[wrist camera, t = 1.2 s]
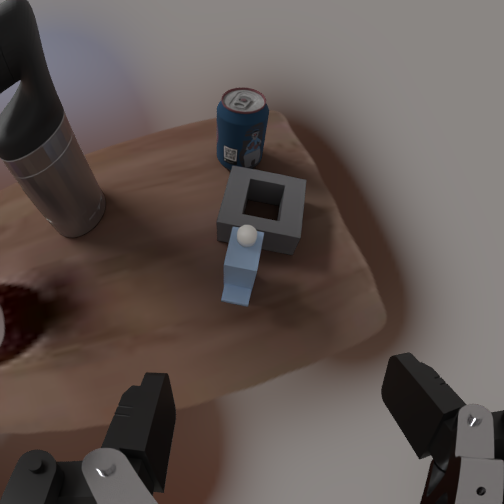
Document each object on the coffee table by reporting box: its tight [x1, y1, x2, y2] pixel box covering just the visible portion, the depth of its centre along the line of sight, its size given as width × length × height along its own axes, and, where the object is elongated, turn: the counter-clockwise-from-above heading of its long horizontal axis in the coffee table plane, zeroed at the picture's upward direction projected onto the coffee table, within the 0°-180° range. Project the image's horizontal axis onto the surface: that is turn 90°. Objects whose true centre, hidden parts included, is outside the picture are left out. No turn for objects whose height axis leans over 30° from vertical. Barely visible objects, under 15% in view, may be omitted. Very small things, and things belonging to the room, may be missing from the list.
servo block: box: [221, 225, 264, 307], centre depth 32 cm, size 8×3×12 cm, turn 170°
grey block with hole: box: [217, 166, 306, 255], centre depth 39 cm, size 10×9×5 cm
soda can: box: [217, 88, 269, 171], centre depth 41 cm, size 7×7×12 cm
